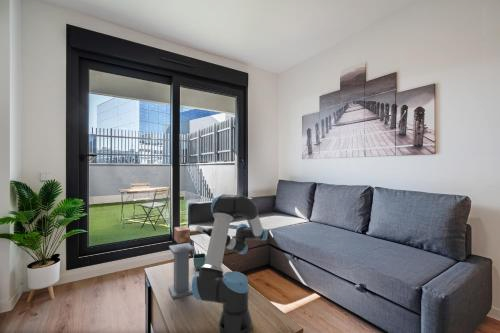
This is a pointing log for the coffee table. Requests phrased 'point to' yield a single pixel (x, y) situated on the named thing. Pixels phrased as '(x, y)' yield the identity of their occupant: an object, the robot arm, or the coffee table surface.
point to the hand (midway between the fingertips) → (197, 227)
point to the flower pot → (199, 260)
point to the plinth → (181, 270)
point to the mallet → (185, 233)
